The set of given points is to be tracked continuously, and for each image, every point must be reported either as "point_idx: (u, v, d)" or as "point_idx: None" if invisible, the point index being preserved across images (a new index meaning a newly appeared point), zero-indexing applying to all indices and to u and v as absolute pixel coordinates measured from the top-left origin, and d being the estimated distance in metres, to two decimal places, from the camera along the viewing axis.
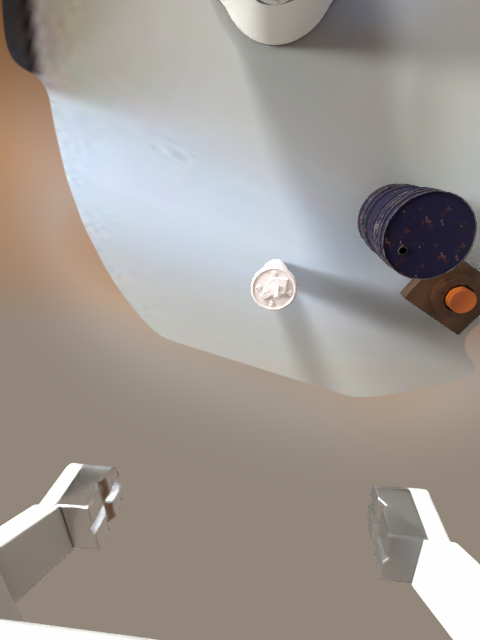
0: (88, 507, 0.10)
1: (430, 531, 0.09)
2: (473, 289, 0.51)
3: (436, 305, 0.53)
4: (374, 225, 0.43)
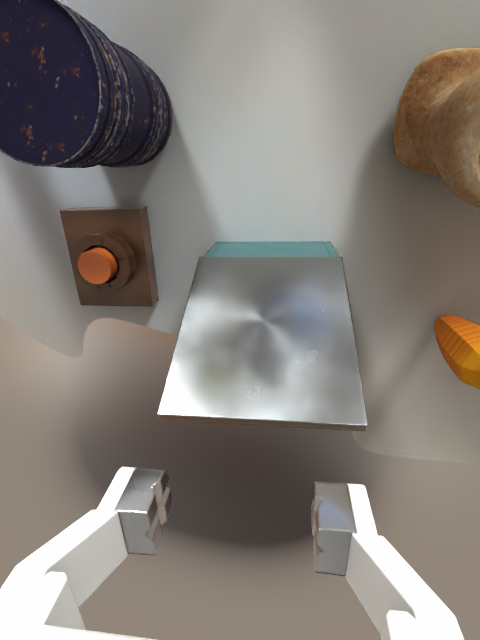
0: (147, 512, 0.10)
1: (360, 525, 0.09)
2: (120, 270, 0.38)
3: (74, 248, 0.38)
4: None
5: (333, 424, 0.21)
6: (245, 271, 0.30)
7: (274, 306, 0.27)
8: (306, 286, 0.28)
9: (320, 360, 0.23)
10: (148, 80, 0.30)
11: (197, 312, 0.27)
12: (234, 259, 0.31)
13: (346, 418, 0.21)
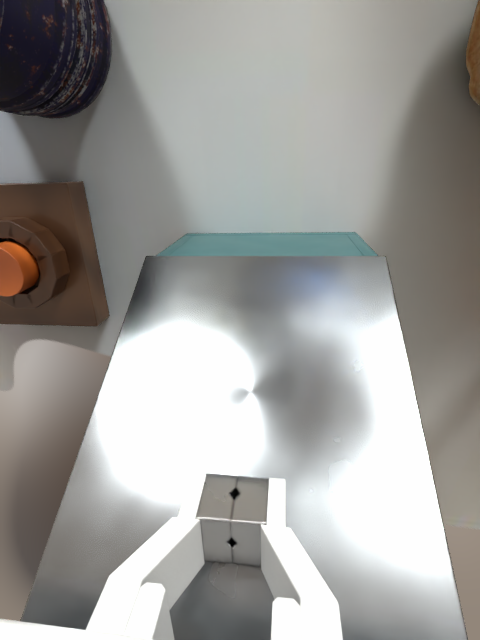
0: (230, 520, 0.09)
1: (270, 517, 0.09)
2: (41, 275, 0.26)
3: None
4: None
5: None
6: (220, 284, 0.17)
7: (268, 356, 0.15)
8: (326, 314, 0.16)
9: (360, 489, 0.12)
10: None
11: (131, 368, 0.15)
12: (203, 261, 0.19)
13: None
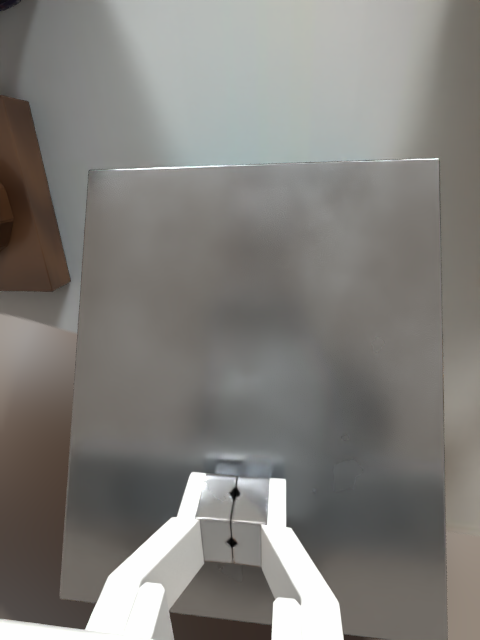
0: (230, 520, 0.09)
1: (271, 517, 0.09)
2: None
3: None
4: None
5: (380, 636, 0.11)
6: (198, 218, 0.13)
7: (267, 333, 0.12)
8: (343, 267, 0.12)
9: (365, 489, 0.11)
10: None
11: (104, 352, 0.13)
12: (170, 177, 0.13)
13: (407, 630, 0.11)
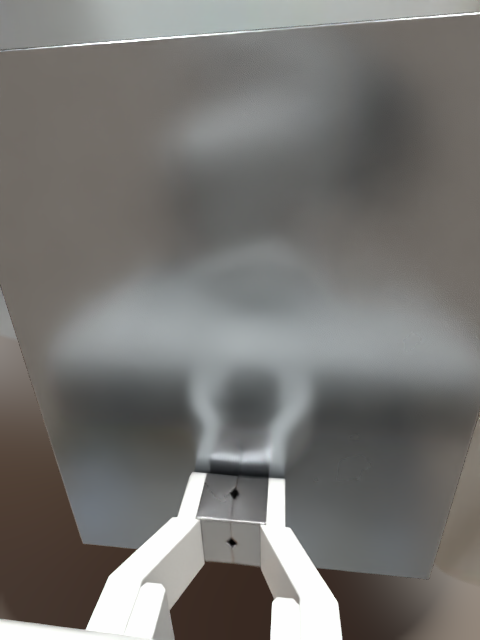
0: (230, 520, 0.09)
1: (270, 517, 0.09)
2: None
3: None
4: None
5: None
6: (141, 154, 0.08)
7: (262, 328, 0.09)
8: (376, 235, 0.08)
9: (371, 479, 0.10)
10: None
11: (54, 350, 0.10)
12: (77, 69, 0.07)
13: (395, 569, 0.12)
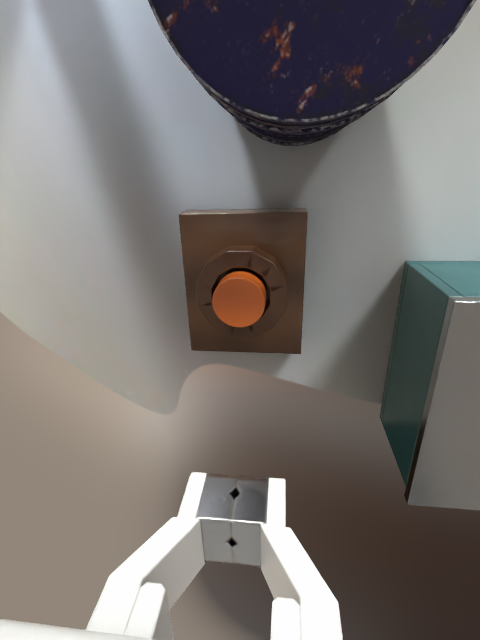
0: (230, 520, 0.09)
1: (270, 517, 0.09)
2: (270, 305, 0.25)
3: (203, 272, 0.25)
4: None
5: None
6: None
7: None
8: None
9: None
10: None
11: (449, 408, 0.21)
12: None
13: None
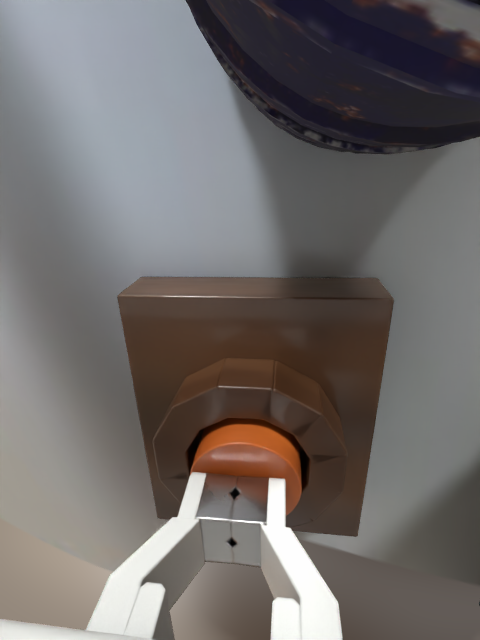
0: (230, 520, 0.09)
1: (270, 517, 0.09)
2: (309, 485, 0.12)
3: (167, 421, 0.12)
4: None
5: None
6: None
7: None
8: None
9: None
10: None
11: None
12: None
13: None
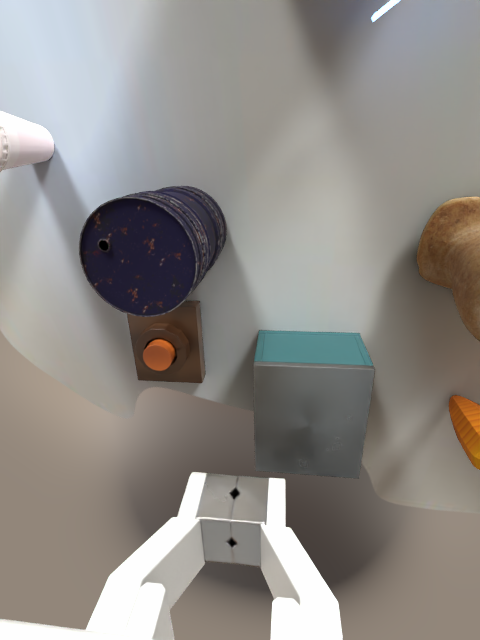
0: (230, 520, 0.09)
1: (270, 517, 0.09)
2: (177, 357, 0.44)
3: (139, 339, 0.44)
4: None
5: (342, 476, 0.43)
6: (294, 382, 0.38)
7: (316, 413, 0.39)
8: (340, 398, 0.38)
9: (341, 449, 0.41)
10: (215, 221, 0.35)
11: (263, 417, 0.40)
12: (283, 369, 0.38)
13: (349, 475, 0.42)
